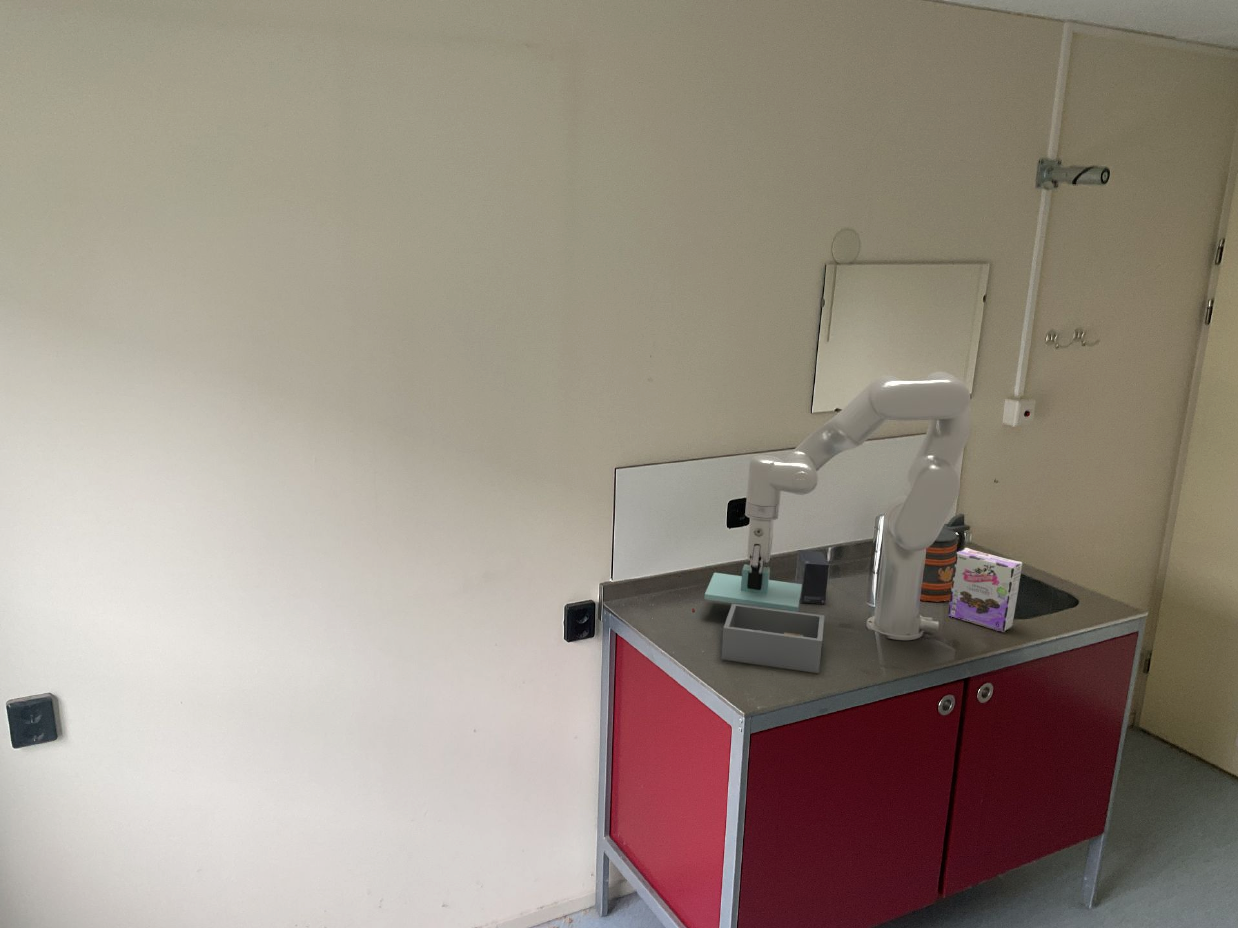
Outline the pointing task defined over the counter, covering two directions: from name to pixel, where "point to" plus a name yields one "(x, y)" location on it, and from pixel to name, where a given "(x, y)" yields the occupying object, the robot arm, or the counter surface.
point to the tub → (773, 638)
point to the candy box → (984, 588)
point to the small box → (812, 576)
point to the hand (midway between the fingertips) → (755, 584)
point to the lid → (754, 591)
